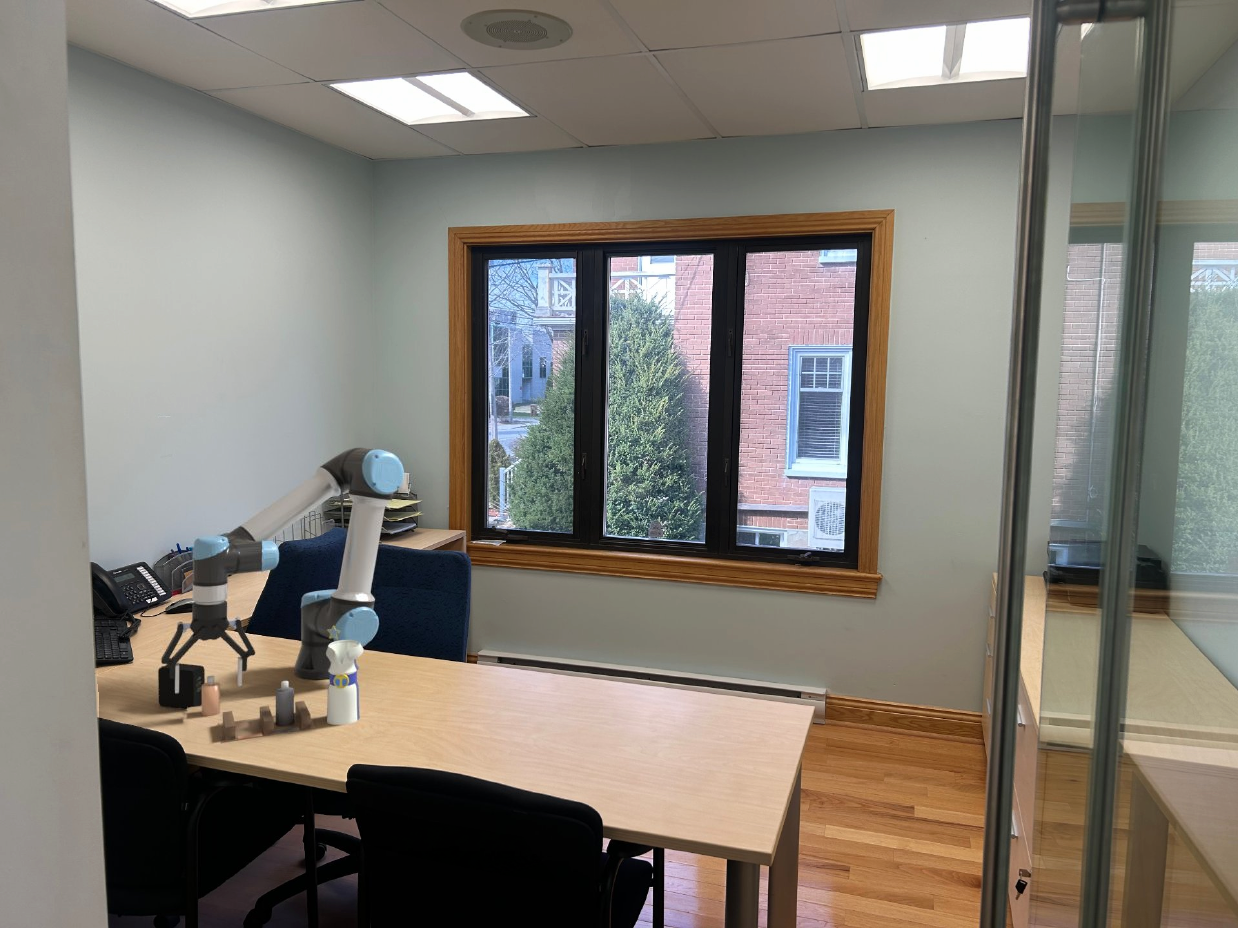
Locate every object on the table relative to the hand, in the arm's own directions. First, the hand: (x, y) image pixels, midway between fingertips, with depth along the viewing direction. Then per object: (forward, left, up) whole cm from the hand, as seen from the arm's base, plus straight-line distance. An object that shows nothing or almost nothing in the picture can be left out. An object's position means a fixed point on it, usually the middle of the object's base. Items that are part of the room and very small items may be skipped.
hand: (208, 687), depth 201 cm
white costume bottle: (-28, +17, -8) cm, 34 cm away
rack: (-11, +14, -7) cm, 19 cm away
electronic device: (+6, -11, -8) cm, 15 cm away
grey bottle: (-15, +14, -6) cm, 22 cm away
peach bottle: (0, 0, -7) cm, 7 cm away
